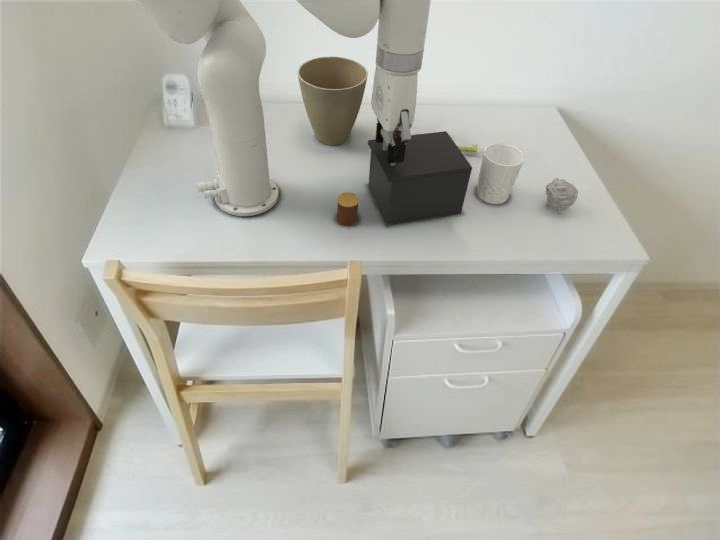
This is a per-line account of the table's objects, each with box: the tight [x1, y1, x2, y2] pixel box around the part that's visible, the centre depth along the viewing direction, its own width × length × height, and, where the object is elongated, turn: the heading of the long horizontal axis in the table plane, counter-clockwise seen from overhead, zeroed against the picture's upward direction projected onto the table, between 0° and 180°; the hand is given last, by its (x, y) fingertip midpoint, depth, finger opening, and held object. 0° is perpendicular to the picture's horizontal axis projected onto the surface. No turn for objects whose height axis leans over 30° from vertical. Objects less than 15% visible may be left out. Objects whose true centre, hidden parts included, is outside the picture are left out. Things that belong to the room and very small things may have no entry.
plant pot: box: [297, 55, 369, 146], centre depth 116 cm, size 15×15×16 cm
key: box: [457, 143, 478, 154], centre depth 120 cm, size 7×12×2 cm, turn 97°
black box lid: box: [367, 128, 473, 182], centre depth 98 cm, size 17×13×6 cm
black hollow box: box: [367, 150, 472, 226], centre depth 103 cm, size 16×13×10 cm
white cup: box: [476, 142, 525, 205], centre depth 106 cm, size 8×8×10 cm
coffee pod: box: [336, 191, 360, 227], centre depth 100 cm, size 4×4×5 cm
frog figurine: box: [545, 177, 579, 212], centre depth 105 cm, size 6×7×7 cm
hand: (389, 150), depth 97 cm, fingers closed on black box lid, 6 cm apart
